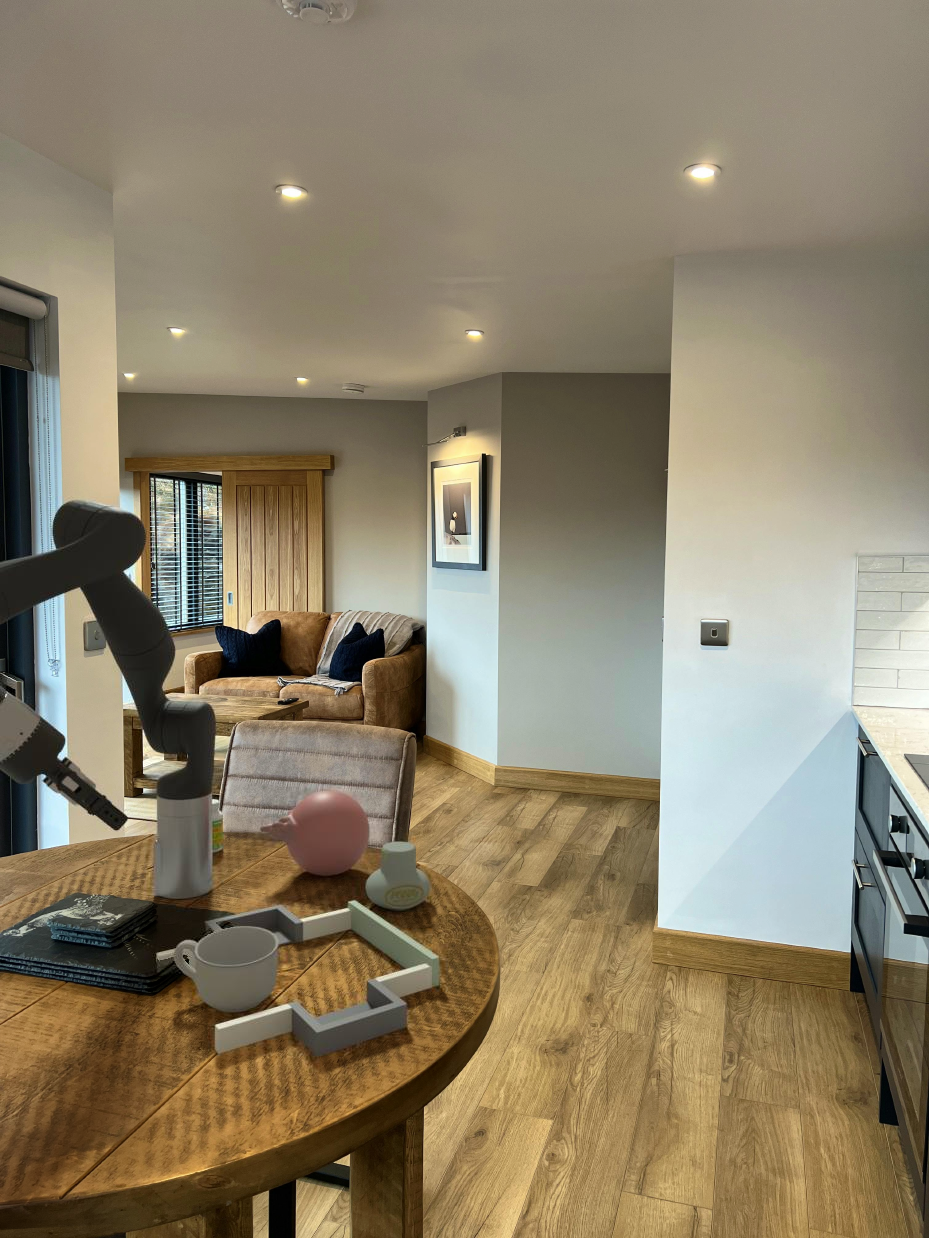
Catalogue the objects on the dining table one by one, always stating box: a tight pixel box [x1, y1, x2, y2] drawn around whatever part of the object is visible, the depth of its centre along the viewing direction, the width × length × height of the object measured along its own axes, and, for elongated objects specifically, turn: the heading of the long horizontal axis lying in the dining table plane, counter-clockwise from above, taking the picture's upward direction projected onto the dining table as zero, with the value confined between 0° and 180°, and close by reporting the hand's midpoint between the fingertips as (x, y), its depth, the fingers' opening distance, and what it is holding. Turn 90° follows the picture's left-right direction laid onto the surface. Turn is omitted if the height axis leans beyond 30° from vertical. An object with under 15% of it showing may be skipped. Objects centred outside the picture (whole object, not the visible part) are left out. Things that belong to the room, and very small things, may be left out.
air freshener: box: [365, 841, 431, 912], centre depth 152 cm, size 11×8×10 cm
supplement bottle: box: [212, 798, 224, 854], centre depth 179 cm, size 5×5×10 cm
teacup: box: [174, 926, 280, 1014], centre depth 118 cm, size 14×11×8 cm
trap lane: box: [156, 900, 440, 1058], centre depth 124 cm, size 31×38×4 cm
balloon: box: [259, 789, 371, 877], centre depth 165 cm, size 15×20×15 cm
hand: (114, 816), depth 116 cm, fingers open, 7 cm apart
